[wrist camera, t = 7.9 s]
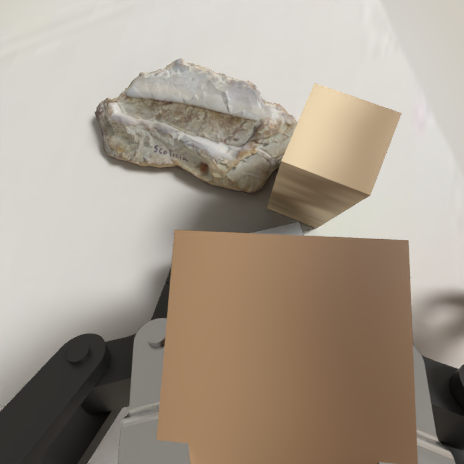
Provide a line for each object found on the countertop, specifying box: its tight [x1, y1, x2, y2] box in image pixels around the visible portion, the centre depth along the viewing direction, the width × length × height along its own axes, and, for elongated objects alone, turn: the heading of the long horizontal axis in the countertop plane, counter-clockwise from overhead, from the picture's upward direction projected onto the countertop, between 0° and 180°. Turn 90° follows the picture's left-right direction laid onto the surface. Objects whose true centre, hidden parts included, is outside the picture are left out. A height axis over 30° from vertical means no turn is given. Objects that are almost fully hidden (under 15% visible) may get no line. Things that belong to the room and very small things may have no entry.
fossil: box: [95, 59, 297, 193], centre depth 23 cm, size 18×10×3 cm, turn 73°
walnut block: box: [156, 230, 418, 464], centre depth 10 cm, size 4×4×10 cm
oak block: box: [267, 83, 401, 228], centre depth 18 cm, size 4×4×10 cm
